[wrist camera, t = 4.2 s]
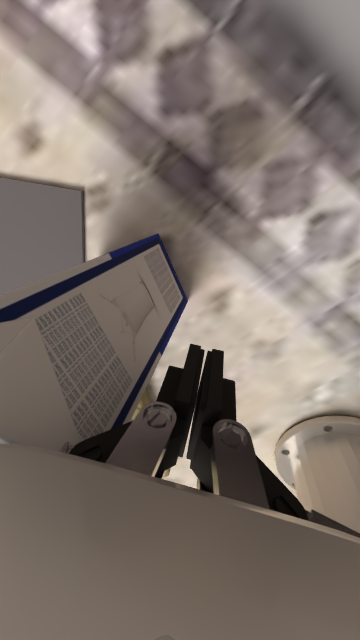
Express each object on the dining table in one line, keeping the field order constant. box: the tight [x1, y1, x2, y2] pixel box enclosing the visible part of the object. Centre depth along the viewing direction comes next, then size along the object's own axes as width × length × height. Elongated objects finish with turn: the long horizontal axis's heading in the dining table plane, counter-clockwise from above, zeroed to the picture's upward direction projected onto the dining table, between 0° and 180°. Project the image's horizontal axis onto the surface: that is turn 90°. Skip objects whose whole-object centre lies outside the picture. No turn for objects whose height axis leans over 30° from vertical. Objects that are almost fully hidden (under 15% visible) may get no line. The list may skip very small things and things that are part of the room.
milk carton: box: [0, 234, 188, 451], centre depth 15 cm, size 7×7×20 cm
